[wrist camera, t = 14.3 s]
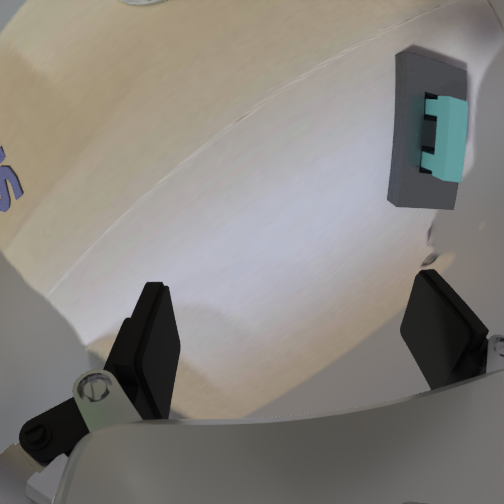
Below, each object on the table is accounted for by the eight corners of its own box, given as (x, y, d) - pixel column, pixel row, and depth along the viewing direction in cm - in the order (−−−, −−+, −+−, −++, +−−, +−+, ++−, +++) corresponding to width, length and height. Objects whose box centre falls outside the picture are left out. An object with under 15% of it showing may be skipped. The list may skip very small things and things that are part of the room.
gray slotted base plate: (395, 54, 29) (406, 51, 27) (453, 71, 30) (466, 71, 27) (386, 199, 38) (396, 207, 36) (442, 203, 39) (453, 209, 36)
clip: (417, 95, 32) (450, 96, 25) (434, 99, 32) (468, 102, 25) (412, 166, 36) (443, 180, 30) (429, 168, 36) (460, 182, 30)
